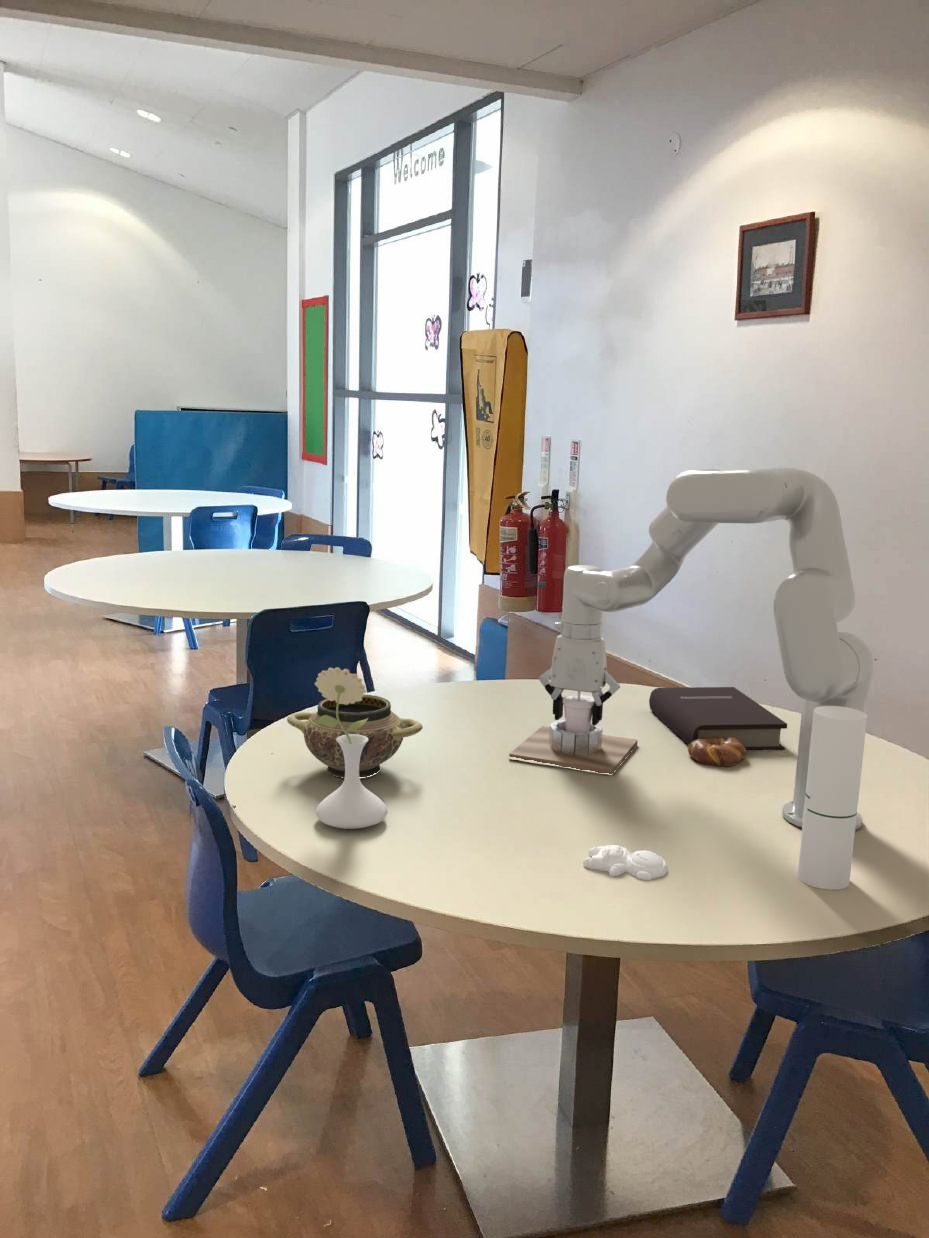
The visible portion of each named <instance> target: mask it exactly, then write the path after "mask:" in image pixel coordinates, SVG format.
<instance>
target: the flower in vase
mask: <svg viewBox="0 0 929 1238" xmlns="http://www.w3.org/2000/svg"><path fill="white" fill-rule="evenodd" d="M314 685H315V687H317V689H318V690H317V691H318V692H319V693H321V696H322V697H323V698H325V699H328V700H329V701H334V700H335V701H336V703H337V706H336V718H337V719H335V718H333V717H331V716H328V715H323V716H321V717H320V718H319V719H318V720H317V721H316V722H315V723H317V724H321V725H325V726H327V727H331V728H333V727H335V726H336V725H337V724H338V723H339V725H340V726H341V728H342V729H343V731H344V733H345V734H346V735H342V736H339V737H338V738H337V739H336V740H337V742H338V743H339V745H340V746H341V748H342V751H343V754H344V760H345V778H344V779H343V781H342V784H341V785H340V786H339V787H338V788H337V789H335V790H334V791H332V792H331V793H330V794H329V795H327V796H326V797H325V798H324V799H323V800H321V802H320V803H319V804H318V805H317V807H316V810H315V816H316V817H317V818H318V820H319V821H320V822H321V823H323V824H325V825H326V826H330V827H334V828H338V829H344V830H345V829H346V830H348V829H349V830H354V829H355V830H356V829H364V828H367V827H368V828H369V827H372V826H374V825H377V824H380V823H381V822H383V820H384V819H385V818H386V816H387V815H388V808H387V806H386V804H385V803H384V801H382V799H381V798H380V797H378V796H377V795H376V794H374V793H373V792H372V791H370V790H369V789H367V788H366V787H365V786H364V785H363V784H362V782H361V779H360V778H359V763H360V757H361V752H362V750H363V747H364V746H365V744H366V743H367V742H368V738H367V737H365V736H363V735H356V734H349V735H348V733H347V732H346V731H354V730H357V729H359V728H360V727H362V726H363V725H364V724H365V723H366V721H367V720H368V718H367V719H365V720H361V721H357V722H355V723H353V724H352V725H351V726H350V727H349V728H348V729H347V730H345V729H344V727H343V725H342V724H341V722H340V720H339V717H338V706H339V704H345V705H348V704H349V703H351V704H354V703H355V702H358V701H362V698H361V697H363V696H364V695H365V694H366V693H367V689H366V685H365V684H363V678H361V677H359V675H358V674H357V673H351V672H350V670H349V669H348V668H344V669H343V670H342V669H341V668H340V667H337V666H336V667H335V668H334V667H328V669H326V670H321V672H319V673H318V674H317V678H316V681H315V682H314Z"/></svg>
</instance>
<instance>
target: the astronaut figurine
mask: <svg viewBox="0 0 929 1238" xmlns="http://www.w3.org/2000/svg"><path fill="white" fill-rule="evenodd" d="M582 865H583V867H584V868H587V869H592V870H597V871H604V872H608V873H609V876H610V877H617V876H619V875H622V874H624V873H628V874H629V875H632V876H634V877H635V878H636V879H638V880H643V881H650V880H653V879H657V878H662V877H663V876H665V875H666V874H667V872H668V865H667V862H666V861H665V859H664V858H663V857H661V855H659V854H657V853H655V852H653V851H649V850H645V849H643V850H636V851H635V852H632V853H630V852H629V849H628V848H626V847H624V846H620V845H617V844H607V845H599V846H597V847H596V846H594V847H592V848H590V849H589V850H588V856H587V857H586V858H585V859H583V861H582Z"/></svg>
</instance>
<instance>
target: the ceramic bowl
mask: <svg viewBox="0 0 929 1238" xmlns="http://www.w3.org/2000/svg"><path fill="white" fill-rule="evenodd" d="M361 698H362V701H358V702H355V703H354V704H351V703H349V704H348V705H345V704H339V706H338V717H339V720H340V722H341V724H342V725H343V727H344V729H345V730H347V729H348V728H349V727H350V726H351V725H352V724H353V723H355V722H357V721H361V720H365V719H367V718H368V720H367V721H366V723H365V724H364V725H363V726H362V727H360V728H359V729H357V730H354V731H346V732H347V733H348V735H349V734H356V735H363V736H365V737H367V738H368V742H367V743H366V744H365V746H364V747H363V750H362V752H361V757H360V763H359V777H367V776H370V775H373V774H374V773H377V772H378V771H379V770H380V767H381V765H382V764H383V763H385V762H387V761H388V760H389V759H391V758H393V756H394V755H395V754H396V753H397V752H398V750H399V748H400V747H401V745H402V743H403V741H404V738H408V737H409V738H410V737H412V736H414V735H416V734H419V733H420V732H421V731H422V730H423V728H424V727H423V724H422V723H421V722H420V721H418V720H414V719H411V718H401V717H400V716H398V715H397V714H396V713H394V712H393V711H391V707H392V703H391V701H389V700H388V699H386V698H384V697H381V696H378V695H372V694H364V696H363V697H361ZM336 706H337V703H336V701H335V700H334V701H329V700H328V699H327V698H325V699H323V700H321V701H319V702H318V704H317V711H316V712H307V711H305V712H304V711H301V712H294V713H291V714H290V715H289V716H287V719H286V721H287V723H288V724H289V725H290V726H292V727H294V728H296V729H297V730H299V731H300V732H301V733H302V734H303V738H304V743H305V744H306V747H307V750H309V752H310V753H311V754H312V755H313V756H314V758H315V759H316V760H318V761H320V763H322V764H323V765H326V766H327V772H328V774H330V773H331V774H332V775H333V776H332V775H331V774H330V775H331V776H332V777H335V776H336V777H335V778H338V777H343V778H345V760H344V754H343V751H342V748H341V746H340V745H339V743H338V742H337V740H336V739H337V738H338V737H339V736H342V735H346V734H345V733H344V731H343V729H342V728H341V726H340V725H339V723H338V724H337V725H336V726H335V727H333V728H331V727H327V726H325V725H321V724H317V723H315V722H316V721H317V720H318V719H319V718H320V717H321V716H323V715H328V716H331V717H333V718H335V719H337V718H336Z"/></svg>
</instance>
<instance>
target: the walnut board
mask: <svg viewBox="0 0 929 1238" xmlns="http://www.w3.org/2000/svg"><path fill="white" fill-rule="evenodd" d="M549 731H550V726H544V725H542V726H540V727H539V728H538V729H537V730H535V732H534V733H532V734H531V735H530V736H529V737H528V738H526V739H525V740H524V741H522V742H521V743H520V744H519V745H517V747H515V748H514V749H513V750H512V751H510V752H509V755H508V757H509V756H510V757H516V758H521V759H524V760H534V761H537V762H542V763H550V764H555V765H559V766H562V767H571V768H576V769H580V770H590V771H595V772H598V773H609V774H612V773H614V771H615V770H616V769H617V768H618V767H619V766H620V764H621V763H622V762H623V761H624V760H625V758H626V757H627V756H628V755H629V754H630V753H631V751H632V750H633V749H634V748H635V746H636V747H638V741H639V740H638V739H636V738H635V739H633V738H628V737H621V736H614V735H608V734H602V748H601V750H600V751H599V752H597V753H593V754H589V755H588V754H587V755H575V754H574V755H572V754H565V753H562V752H561V753H560V752H558V751H555V750H553V749H551V747H550V746H549ZM635 749H636V748H635ZM635 749H634V750H635ZM634 750H633V751H634ZM633 751H632V752H633ZM631 754H632V753H631ZM631 754H630V755H631ZM630 755H629V756H630ZM629 756H628V757H629ZM628 757H627V758H628ZM625 761H626V760H625ZM625 761H624V762H625ZM624 762H623V763H624ZM623 763H622V764H623ZM620 767H621V766H620ZM620 767H619V768H620ZM619 768H618V769H619ZM618 769H617V770H618ZM614 774H615V773H614Z"/></svg>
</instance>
